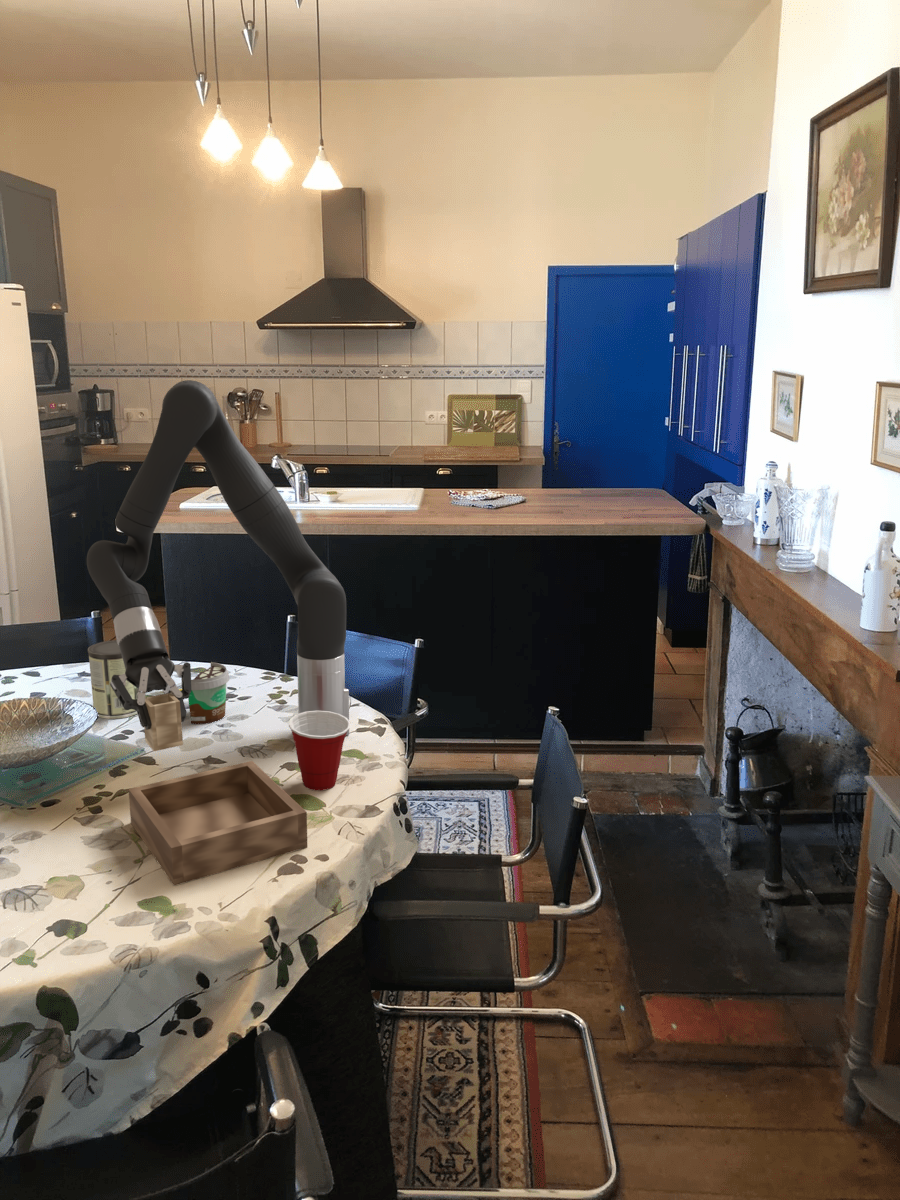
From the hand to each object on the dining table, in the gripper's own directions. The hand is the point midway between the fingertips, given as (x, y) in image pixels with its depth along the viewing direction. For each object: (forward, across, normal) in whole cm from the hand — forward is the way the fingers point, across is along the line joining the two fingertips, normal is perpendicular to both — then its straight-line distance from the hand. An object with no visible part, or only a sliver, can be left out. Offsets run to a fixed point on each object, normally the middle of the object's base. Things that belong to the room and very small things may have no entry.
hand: (165, 723), depth 162 cm
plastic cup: (+17, +24, +2) cm, 29 cm away
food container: (-12, +18, +31) cm, 38 cm away
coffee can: (-22, +2, +40) cm, 46 cm away
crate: (+22, +2, -4) cm, 22 cm away
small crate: (+2, 0, +4) cm, 5 cm away
